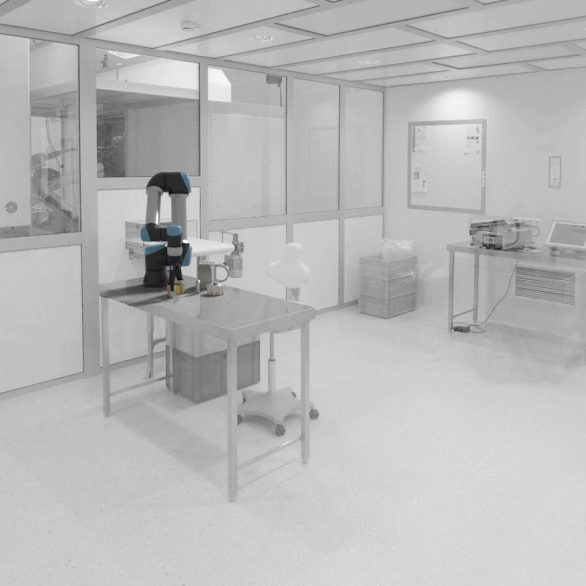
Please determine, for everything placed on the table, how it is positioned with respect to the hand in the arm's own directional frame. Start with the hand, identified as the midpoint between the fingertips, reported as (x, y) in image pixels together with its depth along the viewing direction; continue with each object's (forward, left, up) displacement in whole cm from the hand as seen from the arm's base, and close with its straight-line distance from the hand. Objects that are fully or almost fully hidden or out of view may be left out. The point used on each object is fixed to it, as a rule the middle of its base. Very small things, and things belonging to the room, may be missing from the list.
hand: (176, 294), depth 352 cm
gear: (0, +22, +1) cm, 22 cm away
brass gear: (0, 0, 0) cm, 0 cm away
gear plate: (0, +17, 0) cm, 17 cm away
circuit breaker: (-20, +13, 0) cm, 24 cm away
